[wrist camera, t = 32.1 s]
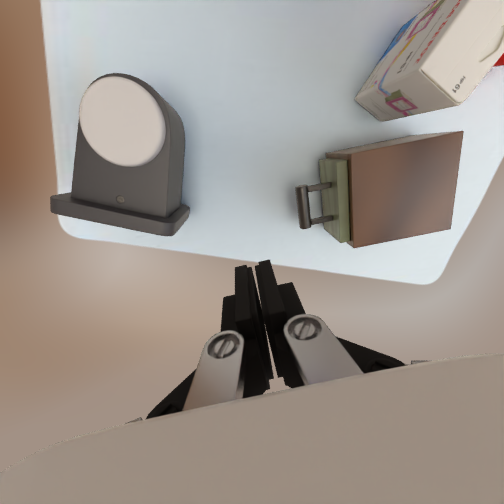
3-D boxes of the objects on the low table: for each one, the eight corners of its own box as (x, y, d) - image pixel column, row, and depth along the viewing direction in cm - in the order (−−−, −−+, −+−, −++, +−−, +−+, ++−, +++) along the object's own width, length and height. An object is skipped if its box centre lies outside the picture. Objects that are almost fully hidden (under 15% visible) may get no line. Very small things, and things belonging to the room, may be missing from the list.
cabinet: (330, 229, 35) (353, 248, 29) (325, 152, 31) (351, 153, 25) (409, 213, 35) (450, 229, 29) (414, 135, 31) (464, 130, 25)
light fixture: (207, 115, 30) (194, 89, 19) (189, 221, 34) (170, 246, 23) (110, 88, 28) (41, 42, 18) (104, 203, 32) (44, 220, 22)
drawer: (295, 234, 34) (306, 250, 29) (286, 166, 31) (297, 169, 26) (397, 214, 34) (427, 225, 29) (400, 143, 31) (435, 141, 26)
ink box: (401, 21, 27) (516, -67, 16) (432, 52, 28) (558, -10, 17) (351, 99, 29) (421, 68, 18) (381, 124, 31) (463, 109, 20)
